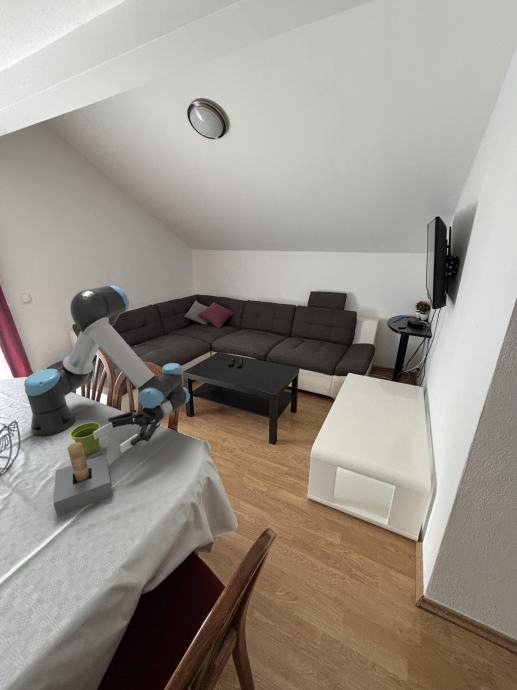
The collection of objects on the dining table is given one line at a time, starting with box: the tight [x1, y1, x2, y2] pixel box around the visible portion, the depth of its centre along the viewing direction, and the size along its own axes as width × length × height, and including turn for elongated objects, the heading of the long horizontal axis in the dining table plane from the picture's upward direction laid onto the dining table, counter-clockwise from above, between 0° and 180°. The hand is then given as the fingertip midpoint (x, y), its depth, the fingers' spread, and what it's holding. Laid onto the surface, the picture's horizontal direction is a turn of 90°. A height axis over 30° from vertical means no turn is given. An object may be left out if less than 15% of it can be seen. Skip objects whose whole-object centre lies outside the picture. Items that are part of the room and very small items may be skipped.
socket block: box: [53, 454, 114, 517], centre depth 87 cm, size 14×14×5 cm
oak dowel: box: [67, 442, 90, 483], centre depth 85 cm, size 4×4×15 cm
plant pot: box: [69, 421, 101, 456], centre depth 104 cm, size 9×9×9 cm
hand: (107, 442), depth 92 cm, fingers open, 13 cm apart
